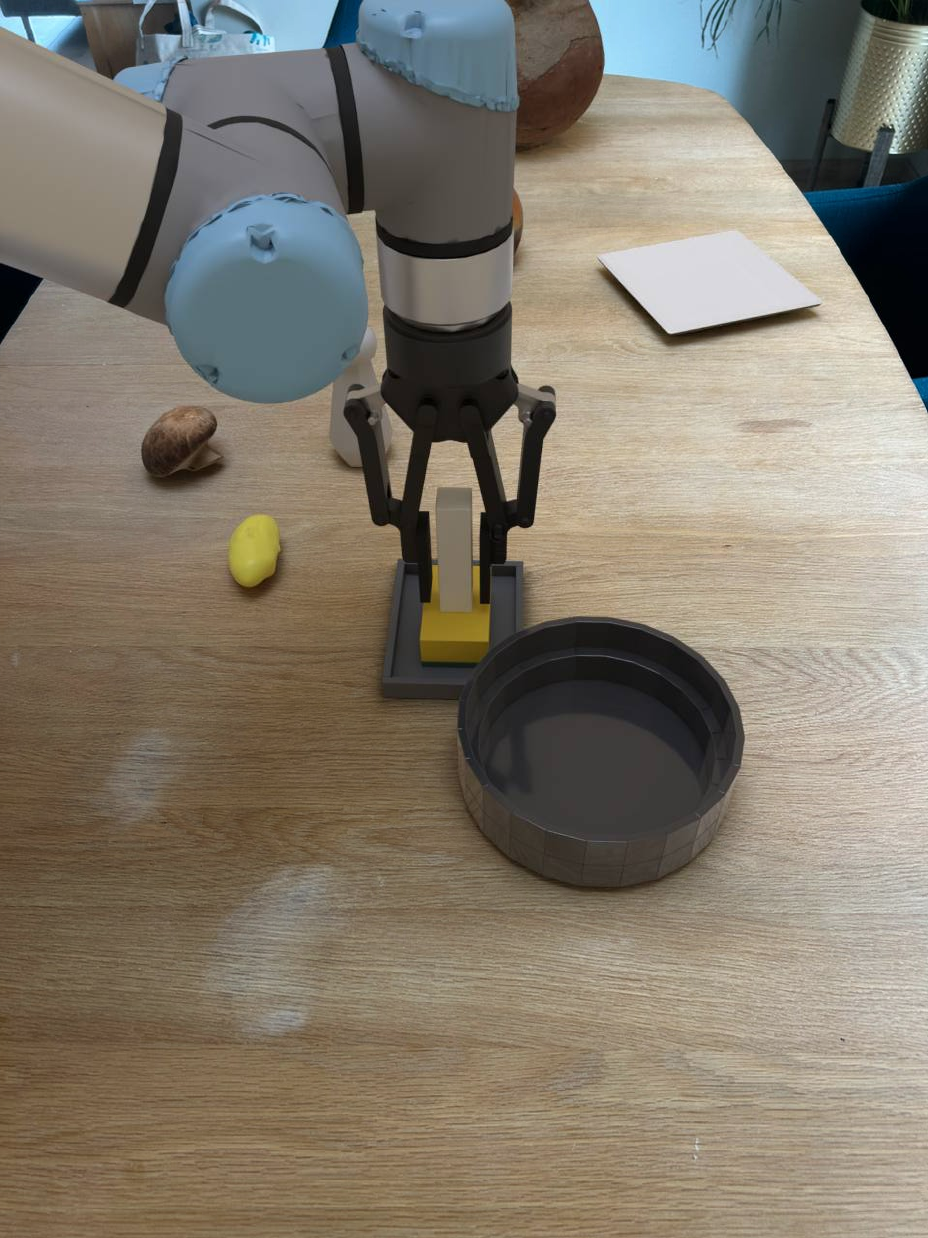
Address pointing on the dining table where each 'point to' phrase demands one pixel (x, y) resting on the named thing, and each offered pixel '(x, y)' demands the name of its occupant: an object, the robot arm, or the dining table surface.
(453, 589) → the sponge brush
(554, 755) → the bowl
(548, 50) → the jug
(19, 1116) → the dining table surface
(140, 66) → the robot arm
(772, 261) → the plate
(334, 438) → the salt shaker
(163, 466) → the mushroom
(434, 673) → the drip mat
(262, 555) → the yellow potato
